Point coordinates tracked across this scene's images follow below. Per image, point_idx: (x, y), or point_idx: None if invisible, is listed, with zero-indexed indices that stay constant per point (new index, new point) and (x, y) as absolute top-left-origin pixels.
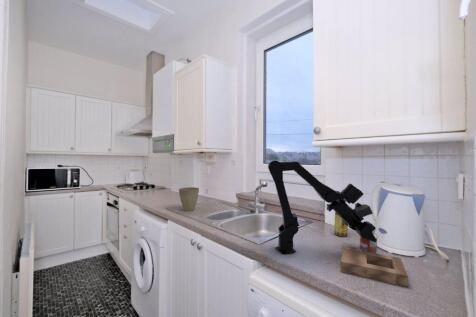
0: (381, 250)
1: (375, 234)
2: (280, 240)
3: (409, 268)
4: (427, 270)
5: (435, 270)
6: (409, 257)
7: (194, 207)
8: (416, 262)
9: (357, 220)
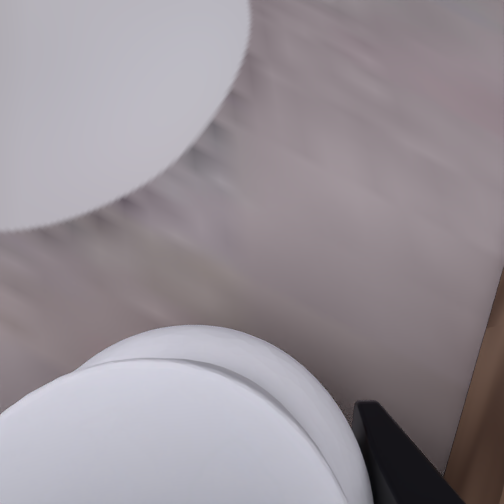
0: (106, 228)
1: (249, 369)
2: None
3: (501, 180)
4: (498, 59)
5: (480, 3)
6: (255, 55)
7: None
8: (354, 56)
9: None
